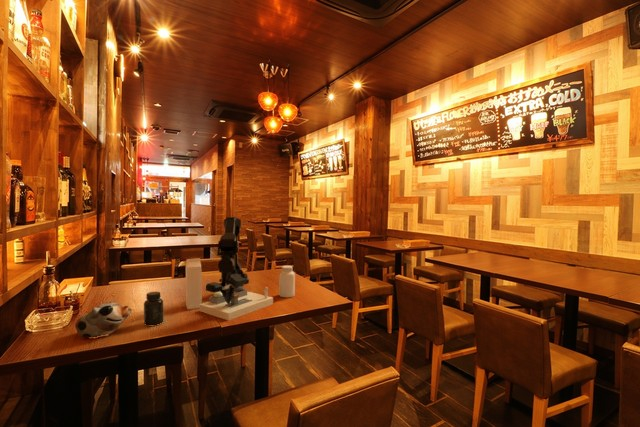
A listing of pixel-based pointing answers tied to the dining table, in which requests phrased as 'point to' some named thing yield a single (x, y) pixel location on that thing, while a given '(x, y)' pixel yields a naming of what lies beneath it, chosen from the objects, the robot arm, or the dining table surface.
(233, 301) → the slider
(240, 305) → the console
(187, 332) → the dining table surface
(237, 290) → the grey dome
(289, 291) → the pill bottle
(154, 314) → the supplement bottle
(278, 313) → the dining table surface
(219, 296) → the pale yellow button
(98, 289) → the dining table surface
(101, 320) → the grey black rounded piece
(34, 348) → the dining table surface
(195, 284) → the milk
